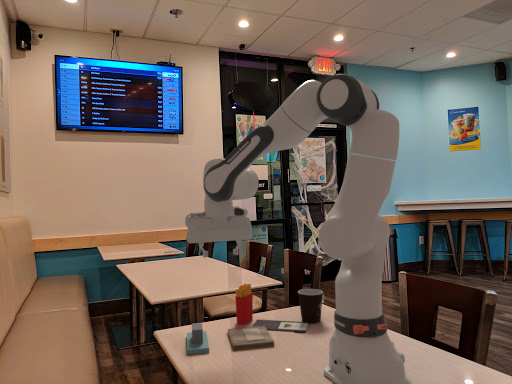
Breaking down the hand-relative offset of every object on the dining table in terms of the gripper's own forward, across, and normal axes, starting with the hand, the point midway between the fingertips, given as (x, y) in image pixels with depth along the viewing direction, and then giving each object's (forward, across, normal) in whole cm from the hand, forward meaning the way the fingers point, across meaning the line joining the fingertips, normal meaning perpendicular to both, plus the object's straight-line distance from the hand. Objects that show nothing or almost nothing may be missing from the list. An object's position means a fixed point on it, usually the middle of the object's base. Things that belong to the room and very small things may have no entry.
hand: (220, 256), depth 118 cm
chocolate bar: (+26, +19, +6) cm, 33 cm away
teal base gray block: (+25, -8, -3) cm, 27 cm away
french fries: (+26, +9, +14) cm, 30 cm away
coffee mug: (+26, +33, +10) cm, 43 cm away
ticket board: (+26, +7, -3) cm, 27 cm away
